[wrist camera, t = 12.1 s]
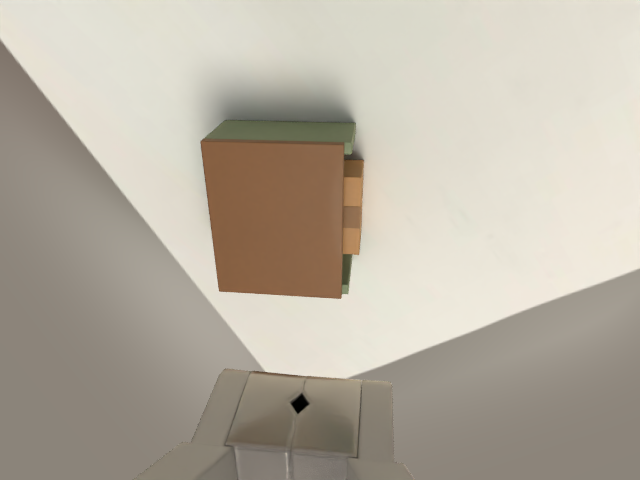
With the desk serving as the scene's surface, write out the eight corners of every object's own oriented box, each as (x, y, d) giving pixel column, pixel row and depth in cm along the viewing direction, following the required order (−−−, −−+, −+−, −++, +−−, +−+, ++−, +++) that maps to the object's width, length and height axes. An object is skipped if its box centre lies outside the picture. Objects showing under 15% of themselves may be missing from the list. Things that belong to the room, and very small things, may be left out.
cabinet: (355, 122, 37) (351, 145, 32) (351, 261, 43) (347, 299, 38) (225, 119, 38) (200, 141, 33) (238, 255, 44) (218, 291, 39)
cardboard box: (363, 159, 39) (362, 177, 35) (361, 232, 42) (359, 255, 38) (271, 157, 40) (260, 174, 36) (275, 228, 43) (265, 250, 39)
